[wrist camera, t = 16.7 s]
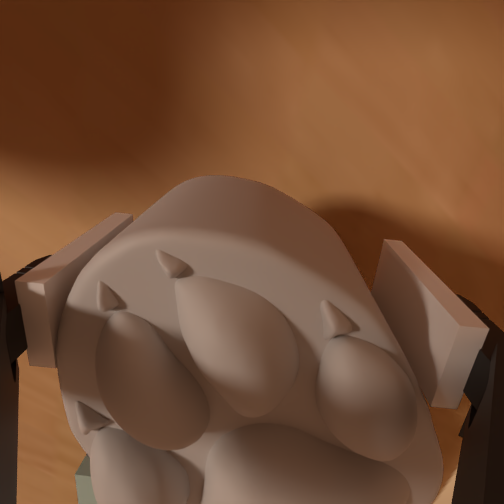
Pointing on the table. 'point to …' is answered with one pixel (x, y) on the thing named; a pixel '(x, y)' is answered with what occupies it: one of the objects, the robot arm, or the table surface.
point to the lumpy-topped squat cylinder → (239, 362)
